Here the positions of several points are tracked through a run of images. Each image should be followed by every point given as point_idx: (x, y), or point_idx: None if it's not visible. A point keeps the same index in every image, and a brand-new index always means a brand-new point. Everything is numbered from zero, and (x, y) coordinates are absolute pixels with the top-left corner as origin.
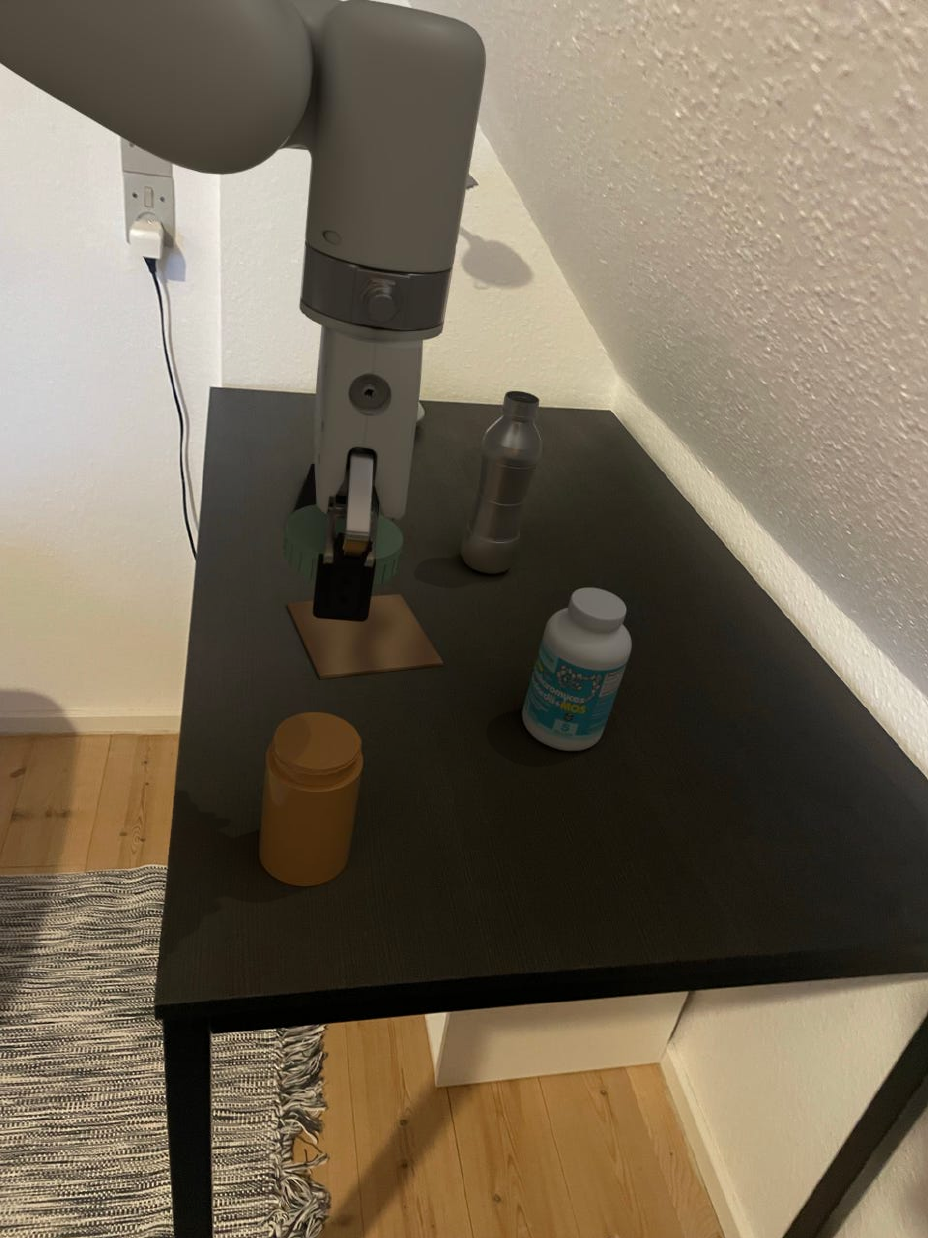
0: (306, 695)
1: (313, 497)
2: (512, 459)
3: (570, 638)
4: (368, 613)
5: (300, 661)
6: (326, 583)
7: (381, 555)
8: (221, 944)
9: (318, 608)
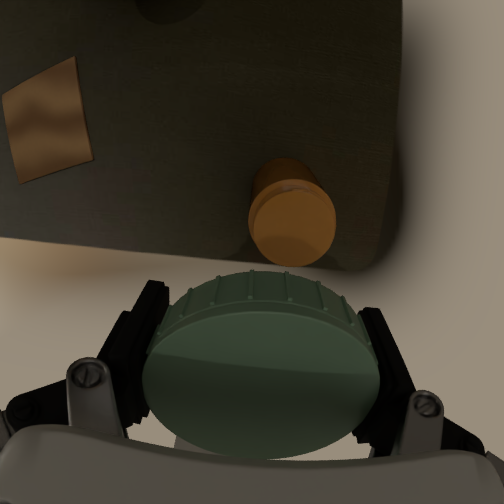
0: (113, 170)
1: None
2: None
3: None
4: (381, 314)
5: (75, 173)
6: None
7: (369, 366)
8: (347, 246)
9: None
